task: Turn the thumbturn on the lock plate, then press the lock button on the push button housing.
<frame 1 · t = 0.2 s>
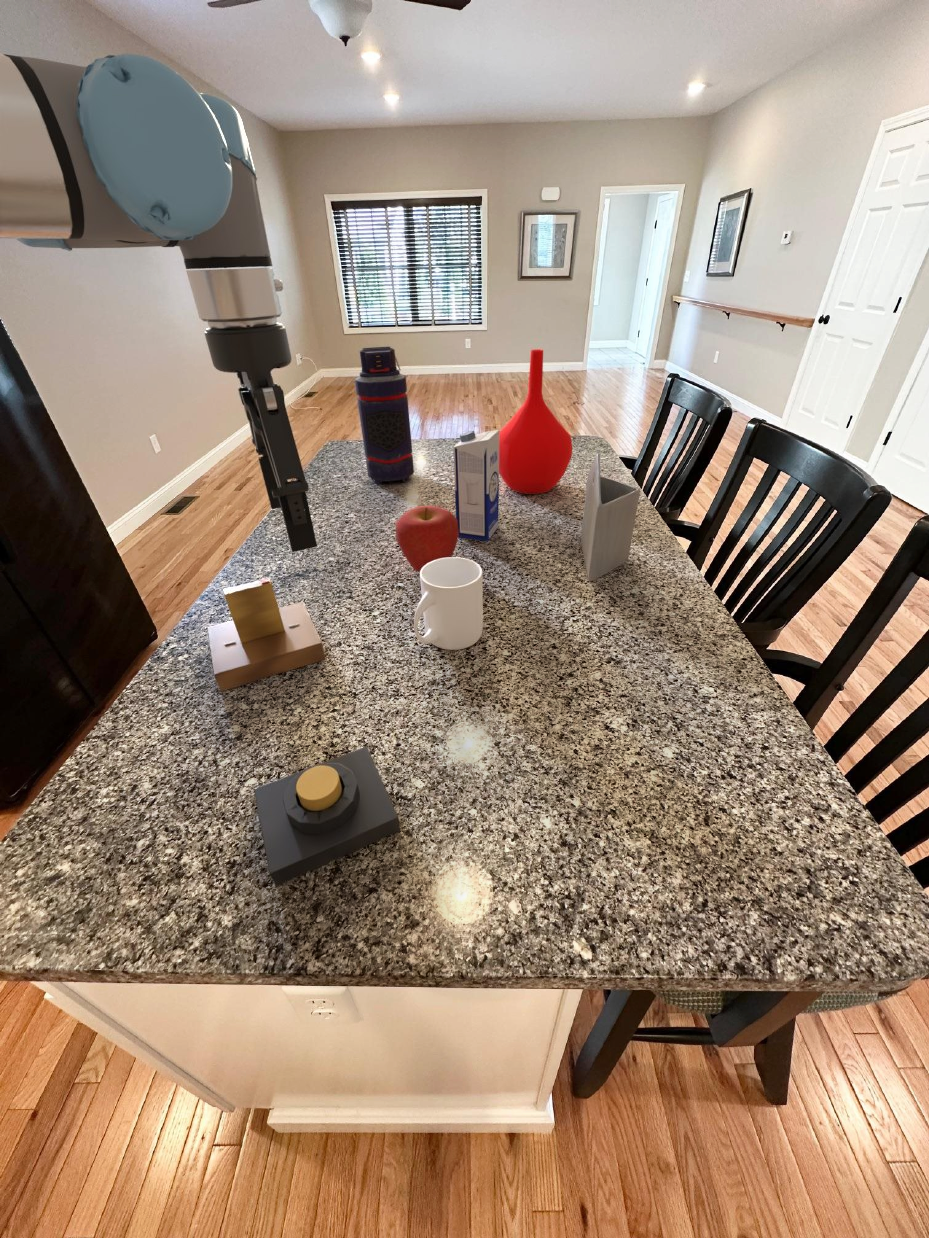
hand: (292, 525, 62), 20 cm above the countertop, tool pointing down, fingers open, 13 cm apart
vase: (530, 487, 125), on the countertop
apple: (430, 572, 93), on the countertop
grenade: (391, 477, 134), on the countertop
lock plate: (267, 651, 75), on the countertop
planter: (605, 560, 94), on the countertop
milk carton: (477, 533, 105), on the countertop
thumbturn: (255, 610, 70), point 7 cm above the countertop, hinge at 0.0°
mug: (446, 640, 76), on the countertop
push button housing: (327, 815, 52), on the countertop
lock button: (319, 787, 49), point 4 cm above the countertop, slide at 0.1 cm
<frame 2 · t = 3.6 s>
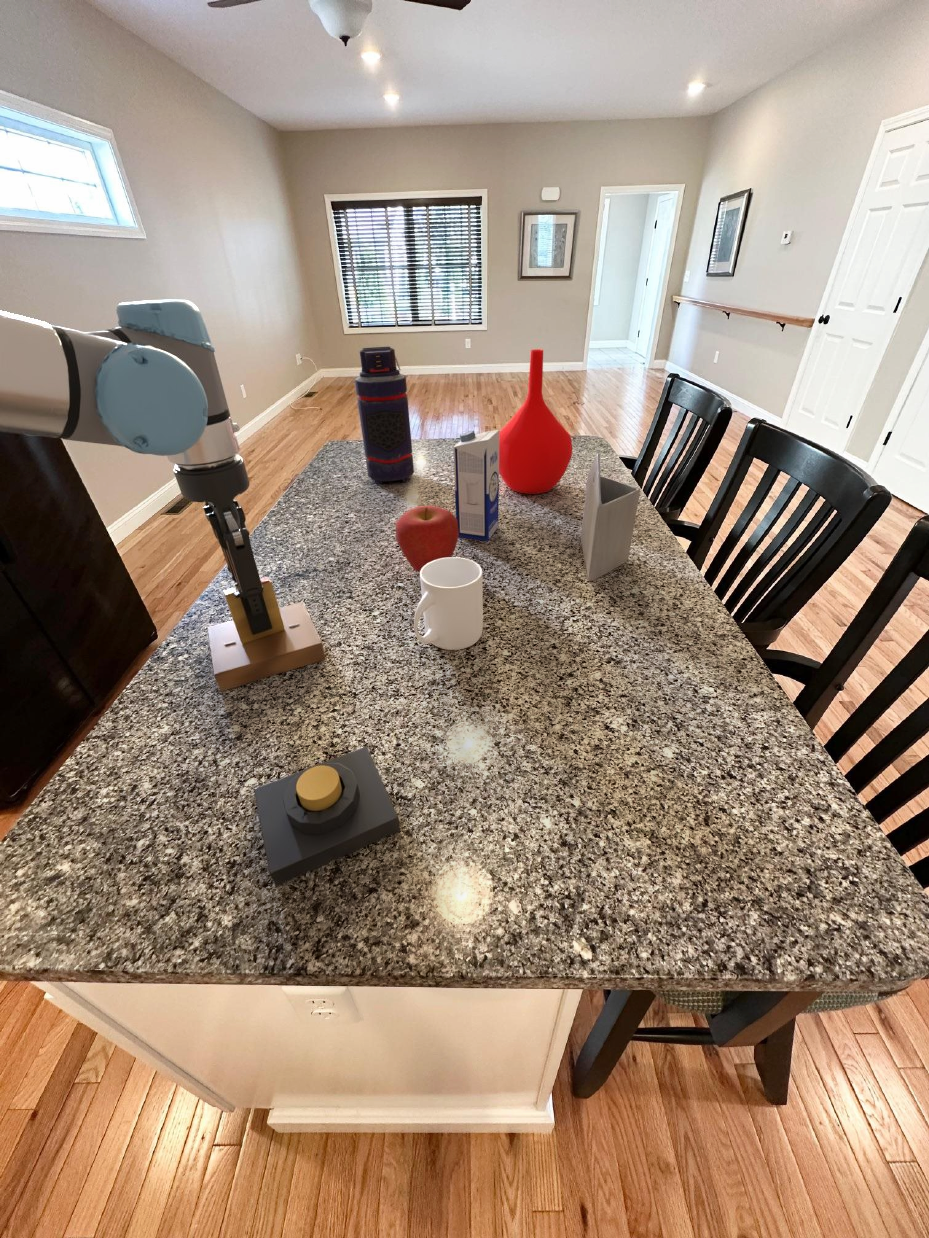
hand: (260, 626, 72), 4 cm above the countertop, tool pointing down, fingers closed on thumbturn, 2 cm apart
thumbturn: (255, 610, 70), point 7 cm above the countertop, hinge at 5.5°, touching gripper
everything else where it was.
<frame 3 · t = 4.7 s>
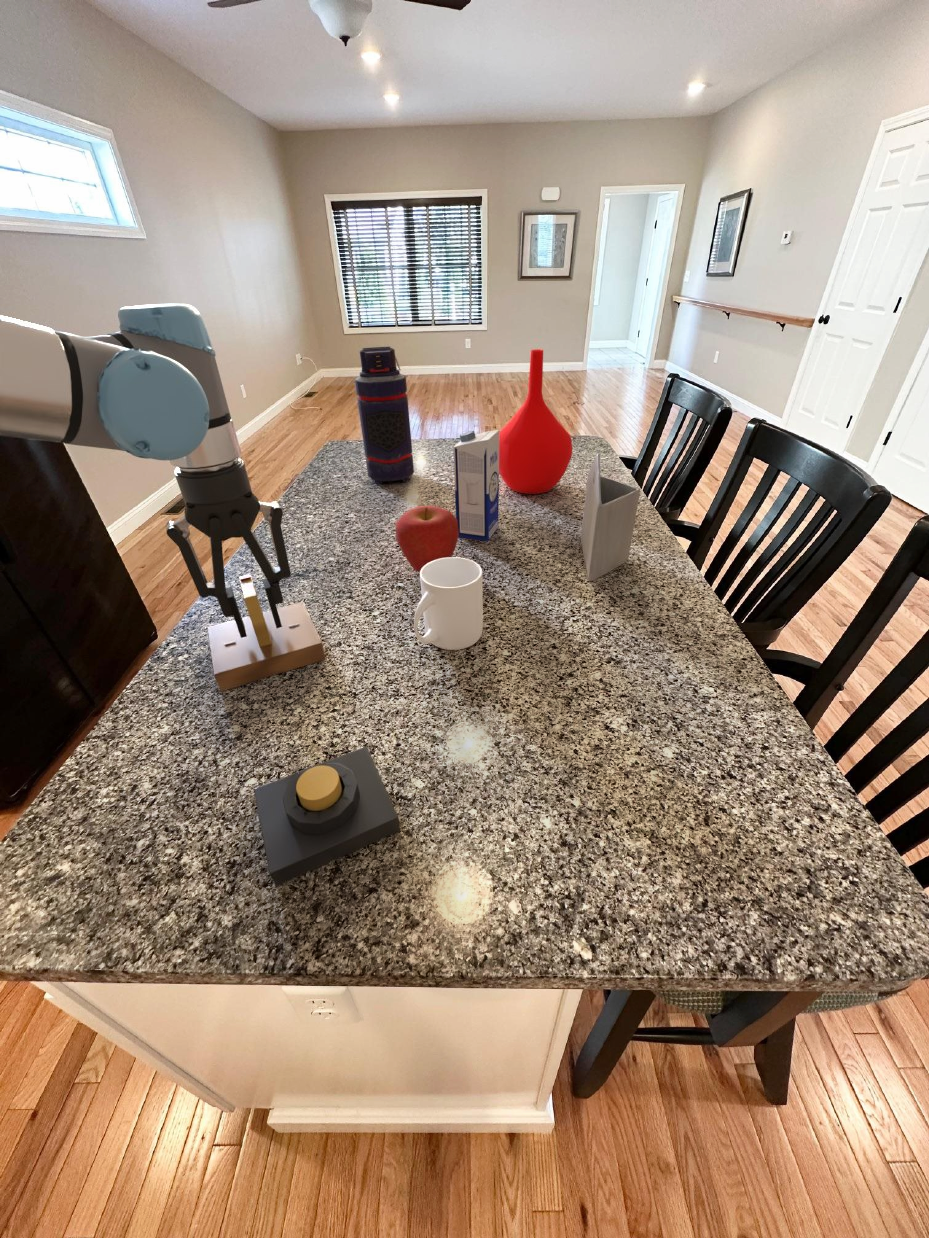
hand: (260, 627, 72), 4 cm above the countertop, tool pointing down, fingers open, 4 cm apart
thumbturn: (255, 610, 70), point 7 cm above the countertop, hinge at 89.3°
everything else where it was.
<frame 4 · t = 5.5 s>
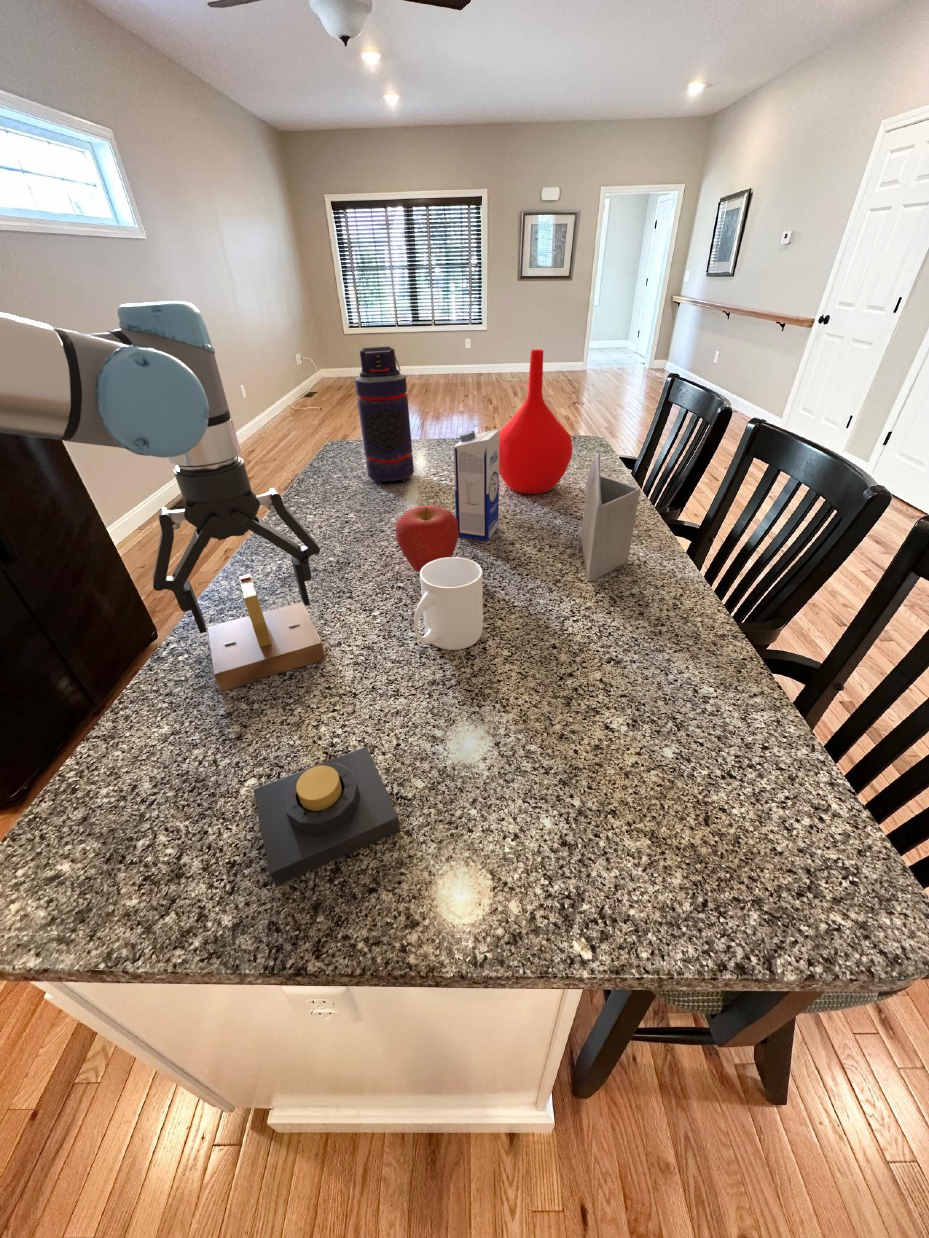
hand: (255, 614, 71), 7 cm above the countertop, tool pointing down, fingers open, 13 cm apart
nothing on the countertop moved.
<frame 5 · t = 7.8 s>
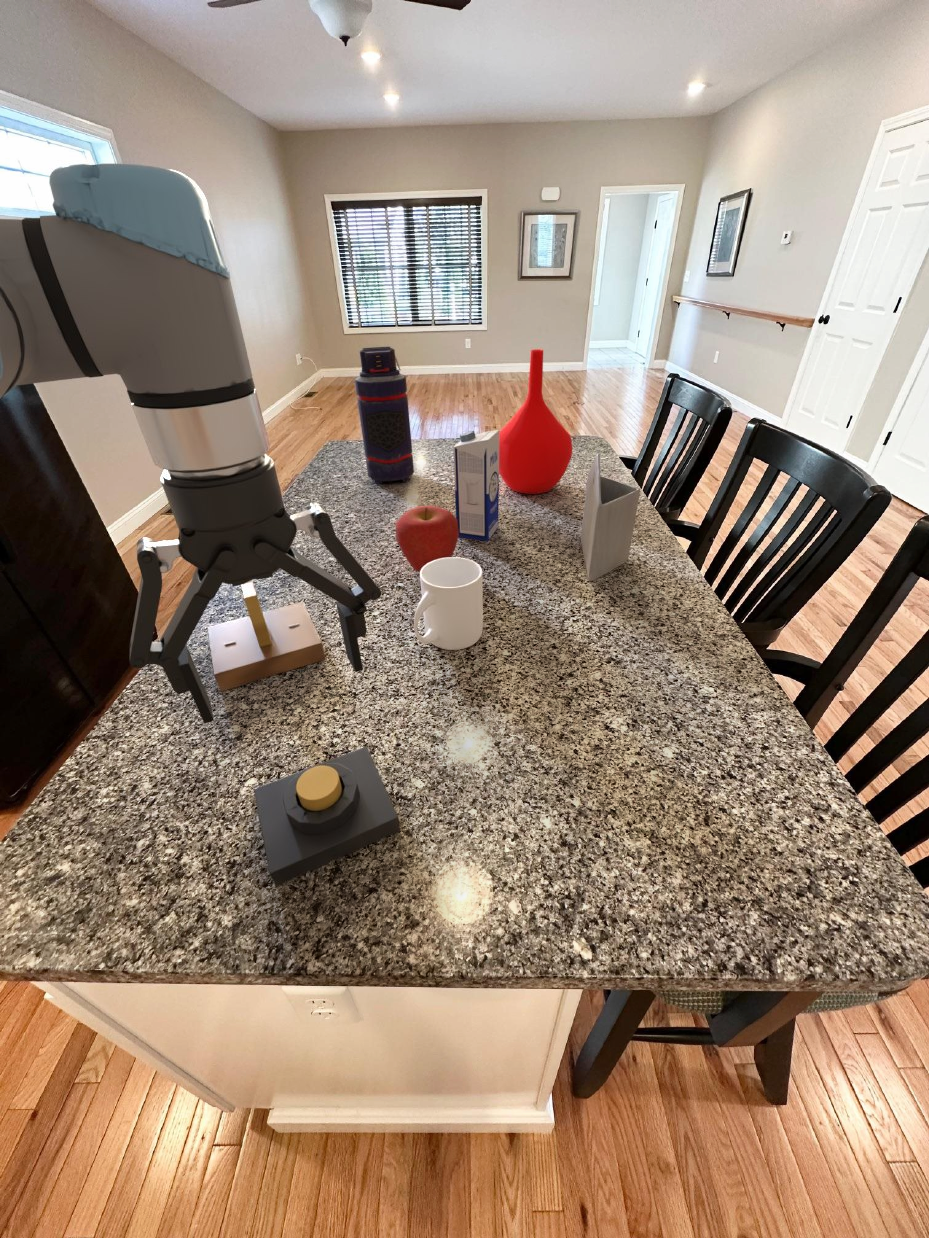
hand: (285, 687, 48), 13 cm above the countertop, tool pointing down, fingers open, 13 cm apart
nothing on the countertop moved.
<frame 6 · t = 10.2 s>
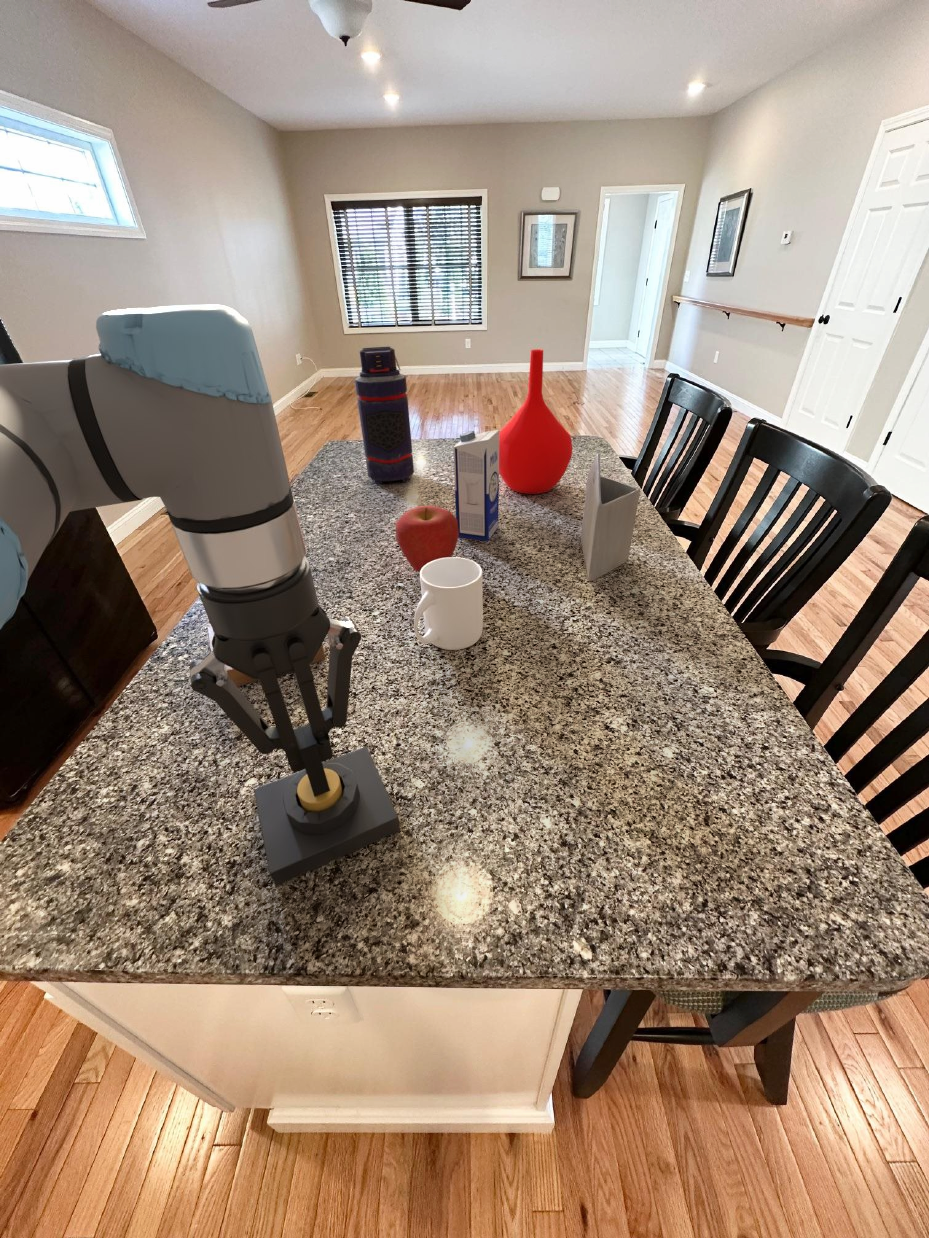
hand: (318, 783, 49), 5 cm above the countertop, tool pointing down, fingers closed
lock button: (320, 790, 50), point 4 cm above the countertop, slide at -0.3 cm, touching gripper
everything else where it was.
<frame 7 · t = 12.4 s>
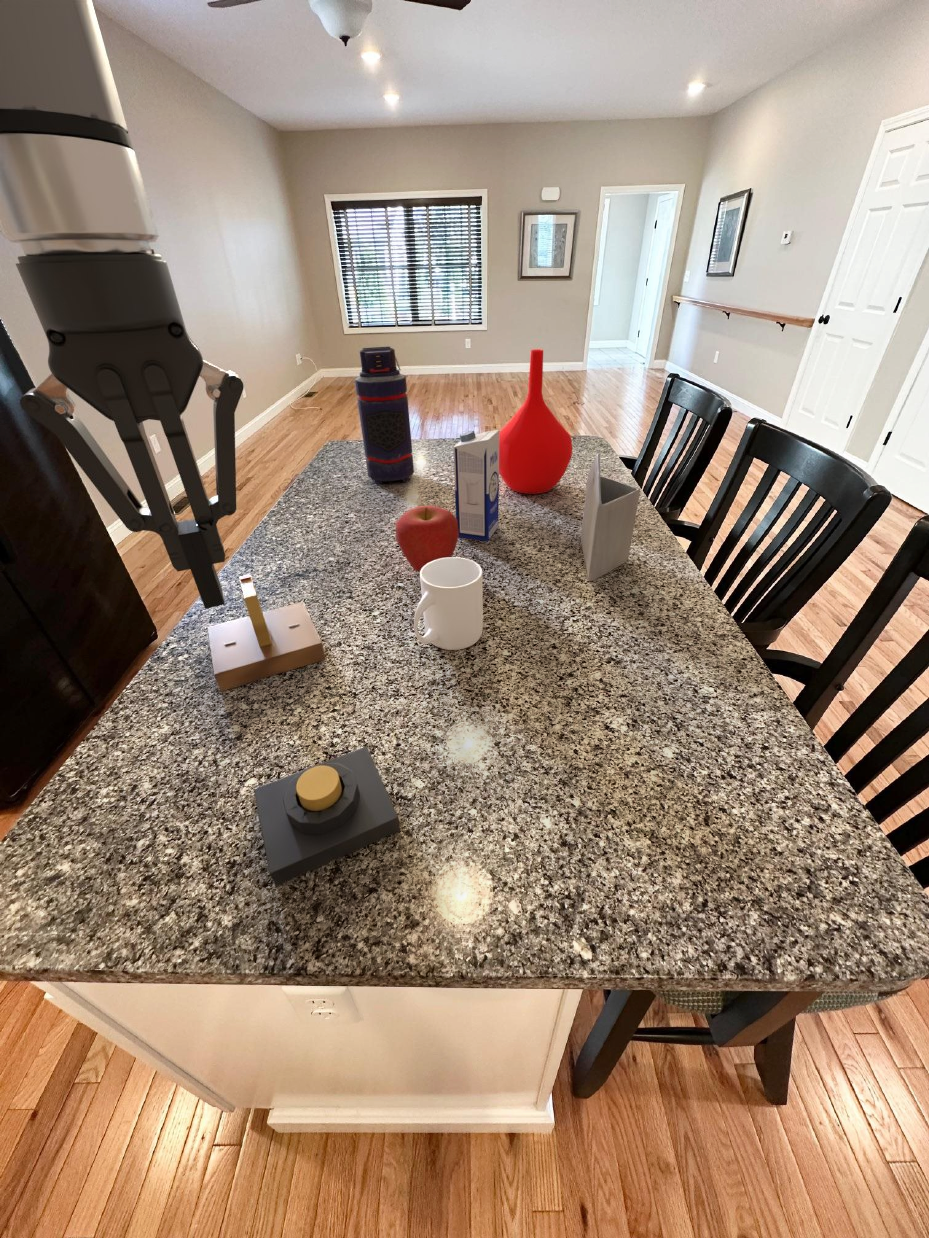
hand: (213, 598, 43), 23 cm above the countertop, tool pointing down, fingers closed
lock button: (319, 787, 49), point 4 cm above the countertop, slide at 0.1 cm
everything else where it was.
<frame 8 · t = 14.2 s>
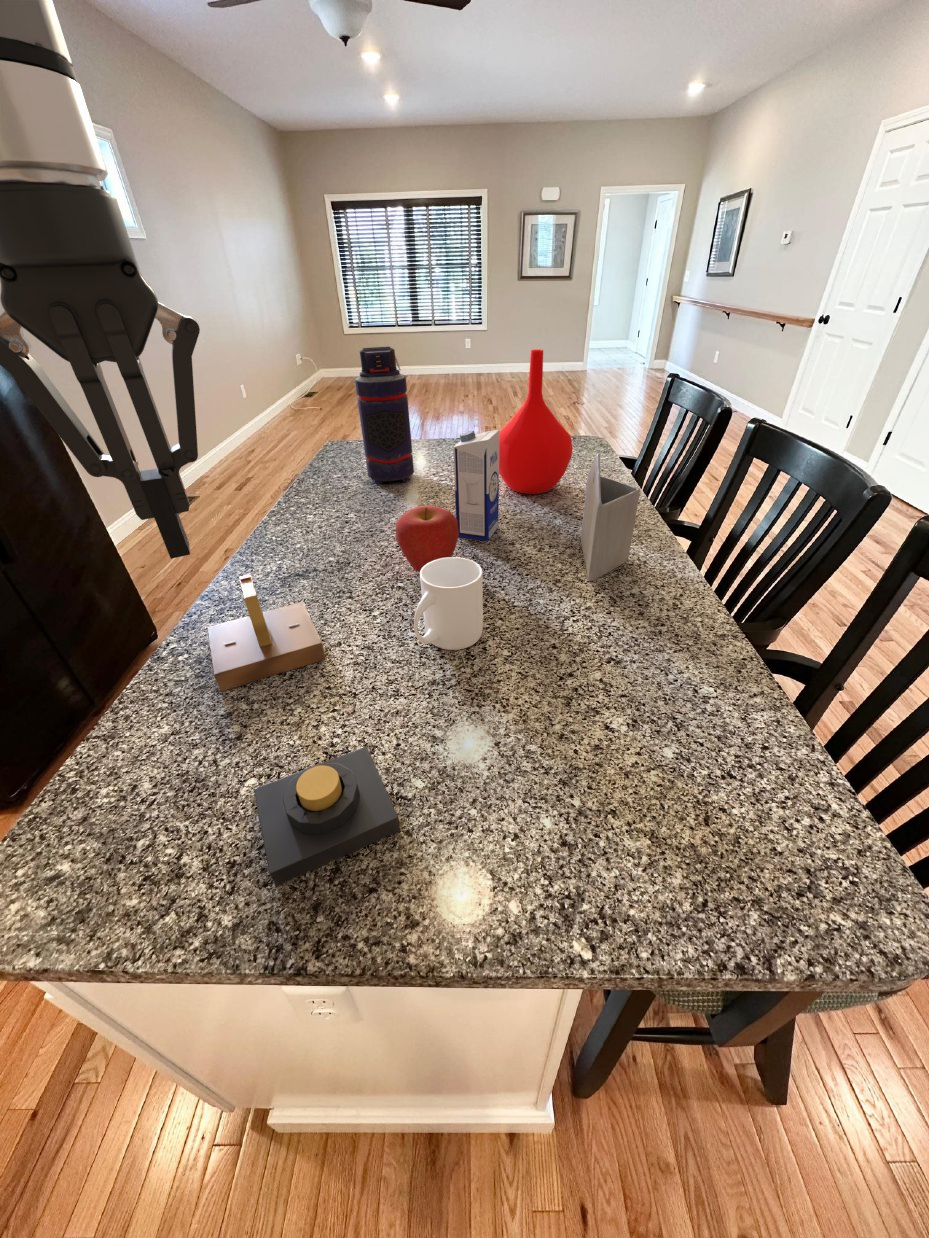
hand: (179, 549, 43), 26 cm above the countertop, tool pointing down, fingers closed
nothing on the countertop moved.
at the end: thumbturn at +89° (first picture: +0°); lock button pushed in 1.0 cm at the most during the clip, back to where it started at the end; lock button slide at 0.1 cm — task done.
